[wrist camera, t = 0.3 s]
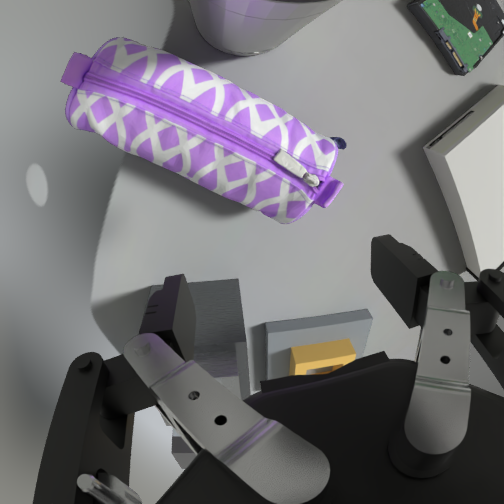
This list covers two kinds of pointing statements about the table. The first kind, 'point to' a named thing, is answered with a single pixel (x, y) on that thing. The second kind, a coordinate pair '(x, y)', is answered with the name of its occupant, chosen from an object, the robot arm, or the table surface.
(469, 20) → the disk drive
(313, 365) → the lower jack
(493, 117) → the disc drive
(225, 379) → the grey open sleeve
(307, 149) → the pencil case
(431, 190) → the table surface
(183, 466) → the plug
